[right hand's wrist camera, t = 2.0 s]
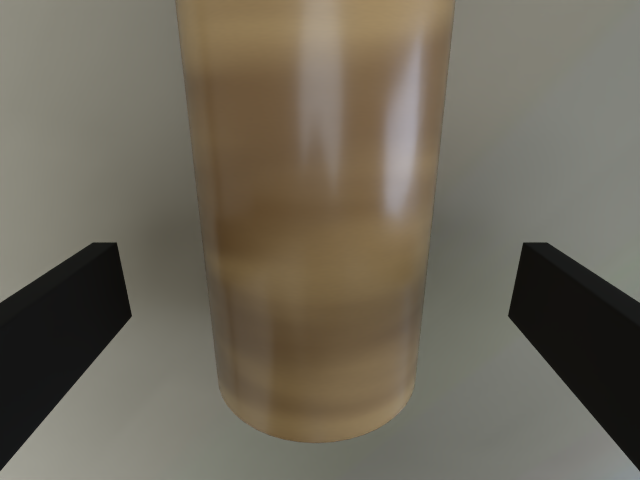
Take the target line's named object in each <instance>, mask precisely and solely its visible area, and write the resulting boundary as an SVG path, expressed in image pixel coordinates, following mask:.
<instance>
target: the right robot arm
mask: <svg viewBox="0 0 640 480" xmlns="http://www.w3.org/2000/svg"><path fill="white" fill-rule="evenodd" d="M131 317H132V314H131V309H130V305H129V300H128V295H127V290H126V285H125V280H124V275H123V271H122V266H121V261H120V256H119V251H118V246H117V243H92V244H90V245H88V246H87V247H85V248H84V249H82V250H81V251H79V252H78V253H76V254H75V255H73V256H72V257H70V258H68V259H67V260H65V261H64V262H62V263H61V264H59V265H58V266H56V267H55V268H53V269H52V270H50V271H48V272H47V273H45V274H44V275H42V276H41V277H39V278H38V279H36V280H35V281H33V282H32V283H30V284H29V285H27V286H25V287H24V288H22V289H21V290H19V291H18V292H16V293H15V294H13V295H12V296H10V297H9V298H7V299H5V300H4V301H2V302H1V303H0V471H1V470H2V468H3V467H4V466H5V465H6V464H7V463H8V461H9V460H10V459H11V458H12V457H13V455H14V454H15V453H16V452H17V451H18V450H19V448H20V447H21V446H22V445H23V444H24V443H25V441H26V440H27V439H28V438H29V437H30V435H31V434H32V433H33V432H34V431H35V430H36V428H37V427H38V426H39V425H40V424H41V423H42V421H43V420H44V419H45V418H46V417H47V415H48V414H49V413H50V412H51V411H52V410H53V408H54V407H55V406H56V405H57V404H58V403H59V401H60V400H61V399H62V398H63V397H64V395H65V394H66V393H67V392H68V391H69V390H70V388H71V387H72V386H73V385H74V384H75V383H76V381H77V380H78V379H79V378H80V377H81V375H82V374H83V373H84V372H85V371H86V370H87V368H88V367H89V366H90V365H91V364H92V363H93V361H94V360H95V359H96V358H97V357H98V355H99V354H100V353H101V352H102V351H103V350H104V348H105V347H106V346H107V345H108V344H109V343H110V341H111V340H112V339H113V338H114V337H115V335H116V334H117V333H118V332H119V331H120V330H121V328H122V327H123V326H124V325H125V324H126V323H127V321H128V320H129V319H130V318H131ZM508 317H509V318H510V319H511V320H512V321H513V323H514V324H515V325H516V326H517V327H518V328H519V330H520V331H521V332H522V333H523V334H524V335H525V337H526V338H527V339H528V340H529V341H530V343H531V344H532V345H533V346H534V347H535V348H536V350H537V351H538V352H539V353H540V354H541V355H542V357H543V358H544V359H545V360H546V361H547V363H548V364H549V365H550V366H551V367H552V368H553V370H554V371H555V372H556V373H557V374H558V375H559V377H560V378H561V379H562V380H563V381H564V383H565V384H566V385H567V386H568V387H569V388H570V390H571V391H572V392H573V393H574V394H575V395H576V397H577V398H578V399H579V400H580V401H581V403H582V404H583V405H584V406H585V407H586V408H587V410H588V411H589V412H590V413H591V414H592V415H593V417H594V418H595V419H596V420H597V421H598V423H599V424H600V425H601V426H602V427H603V428H604V430H605V431H606V432H607V433H608V434H609V435H610V437H611V438H612V439H613V440H614V441H615V443H616V444H617V445H618V446H619V447H620V448H621V450H622V451H623V452H624V453H625V454H626V455H627V457H628V458H629V459H630V460H631V461H632V463H633V464H634V465H635V466H636V467H637V468H638V470H639V471H640V303H639V302H638V301H636V300H635V299H633V298H631V297H630V296H628V295H627V294H625V293H624V292H622V291H621V290H619V289H618V288H616V287H615V286H613V285H611V284H610V283H608V282H607V281H605V280H604V279H602V278H601V277H599V276H598V275H596V274H595V273H593V272H592V271H590V270H588V269H587V268H585V267H584V266H582V265H581V264H579V263H578V262H576V261H575V260H573V259H572V258H570V257H568V256H567V255H565V254H564V253H562V252H561V251H559V250H558V249H556V248H555V247H553V246H552V245H550V244H548V243H523V246H522V251H521V256H520V261H519V266H518V271H517V275H516V280H515V285H514V290H513V295H512V300H511V304H510V309H509V314H508Z"/></svg>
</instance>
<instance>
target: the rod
mask: <svg viewBox="0 0 640 480" xmlns="http://www.w3.org/2000/svg"><path fill="white" fill-rule="evenodd" d="M175 2H176V11H177V20H178V29H179V38H180V46H181V55H182V64H183V73H184V82H185V91H186V100H187V109H188V117H189V126H190V135H191V144H192V153H193V162H194V171H195V179H196V188H197V197H198V206H199V215H200V224H201V233H202V241H203V250H204V259H205V268H206V277H207V286H208V295H209V304H210V312H211V321H212V330H213V339H214V348H215V357H216V366H217V374H218V383H219V389H220V392H221V394H222V397H223V399H224V401H225V402H226V404H227V406H228V407H229V408H230V409H231V410H232V411H233V413H234V414H235V415H236V416H237V417H239V418H240V419H241V420H242V421H243V422H245V423H246V424H248V425H250V426H251V427H253V428H255V429H256V430H259V431H261V432H263V433H265V434H268V435H270V436H274V437H277V438H281V439H284V440H290V441H296V442H306V443H326V442H336V441H342V440H348V439H351V438H355V437H358V436H362V435H364V434H367V433H369V432H371V431H374V430H376V429H378V428H380V427H381V426H383V425H384V424H386V423H388V422H389V421H390V420H392V419H393V418H394V417H395V416H396V415H398V413H399V412H400V411H401V410H402V409H403V408H404V407H405V405H406V404H407V402H408V400H409V399H410V397H411V395H412V392H413V389H414V386H415V379H416V369H417V360H418V350H419V341H420V331H421V322H422V312H423V303H424V293H425V284H426V275H427V265H428V256H429V246H430V237H431V227H432V218H433V208H434V199H435V189H436V180H437V170H438V161H439V151H440V142H441V132H442V123H443V113H444V104H445V95H446V85H447V76H448V66H449V57H450V47H451V38H452V28H453V19H454V9H455V0H175Z"/></svg>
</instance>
